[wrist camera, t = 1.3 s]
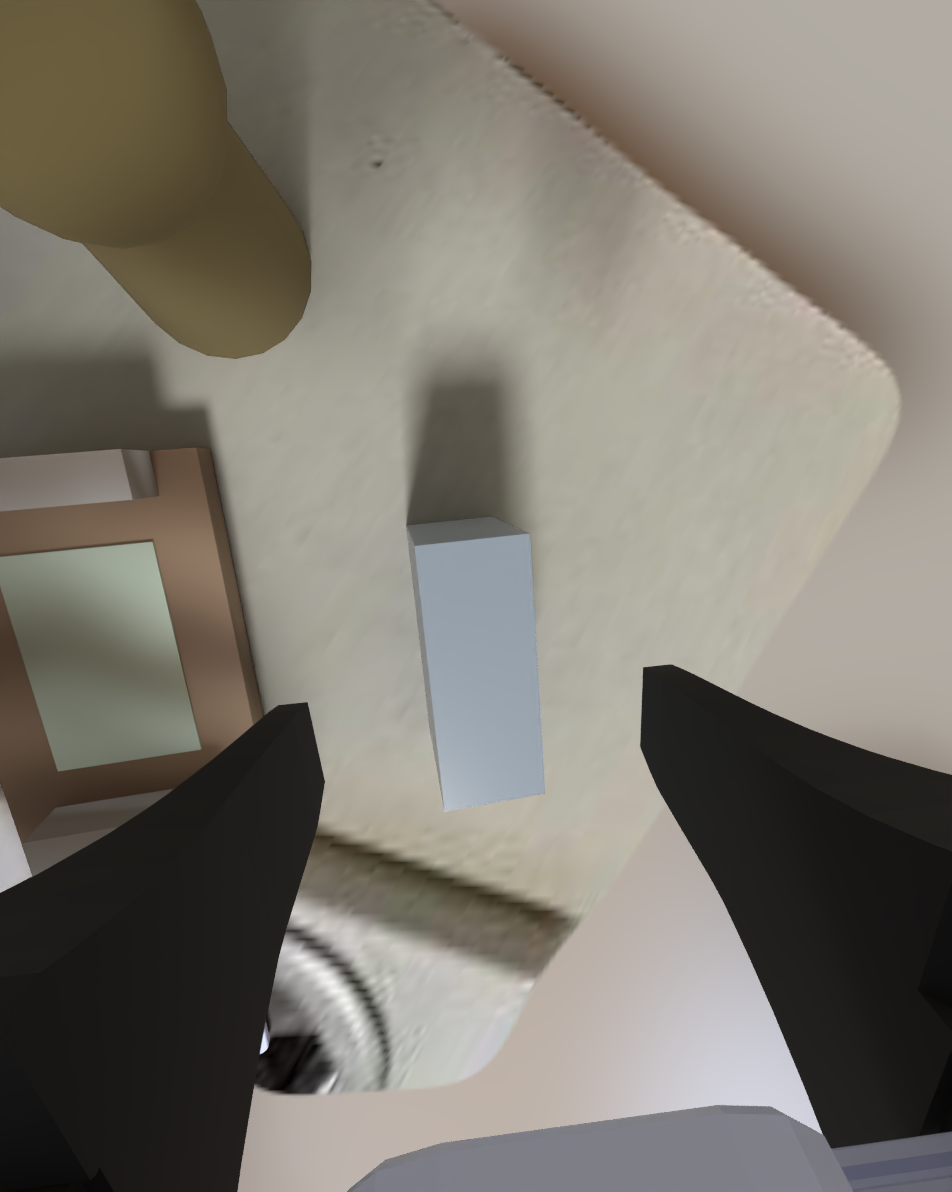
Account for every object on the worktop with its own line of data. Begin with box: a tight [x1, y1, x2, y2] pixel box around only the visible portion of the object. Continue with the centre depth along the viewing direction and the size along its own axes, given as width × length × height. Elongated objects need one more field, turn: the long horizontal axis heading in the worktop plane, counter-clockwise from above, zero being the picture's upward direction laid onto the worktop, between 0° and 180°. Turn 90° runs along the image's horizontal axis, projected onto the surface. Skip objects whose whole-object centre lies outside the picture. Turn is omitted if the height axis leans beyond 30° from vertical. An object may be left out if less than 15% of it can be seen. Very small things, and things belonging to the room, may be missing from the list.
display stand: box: [0, 447, 263, 876], centre depth 19 cm, size 14×9×4 cm, turn 5°
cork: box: [0, 0, 311, 359], centre depth 13 cm, size 6×6×11 cm
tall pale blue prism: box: [406, 517, 545, 811], centre depth 20 cm, size 9×4×6 cm, turn 5°
